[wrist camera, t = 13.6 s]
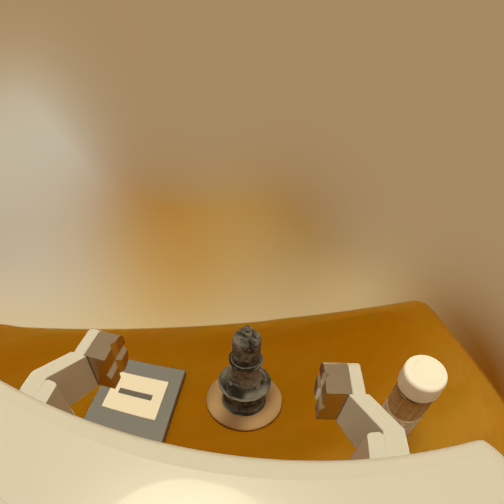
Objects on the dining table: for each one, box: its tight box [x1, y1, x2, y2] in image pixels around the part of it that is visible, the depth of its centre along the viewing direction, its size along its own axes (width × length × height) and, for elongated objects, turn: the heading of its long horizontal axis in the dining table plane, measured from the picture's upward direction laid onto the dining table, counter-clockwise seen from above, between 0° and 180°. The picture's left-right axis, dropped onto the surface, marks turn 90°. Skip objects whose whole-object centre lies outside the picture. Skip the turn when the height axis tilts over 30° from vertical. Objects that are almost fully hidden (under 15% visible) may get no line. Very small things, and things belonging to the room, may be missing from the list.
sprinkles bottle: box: [382, 355, 448, 437], centre depth 25 cm, size 5×5×13 cm
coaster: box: [207, 378, 282, 431], centre depth 34 cm, size 9×9×1 cm
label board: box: [84, 359, 186, 443], centre depth 28 cm, size 10×22×1 cm, turn 175°
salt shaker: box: [218, 325, 271, 416], centre depth 31 cm, size 6×6×12 cm
